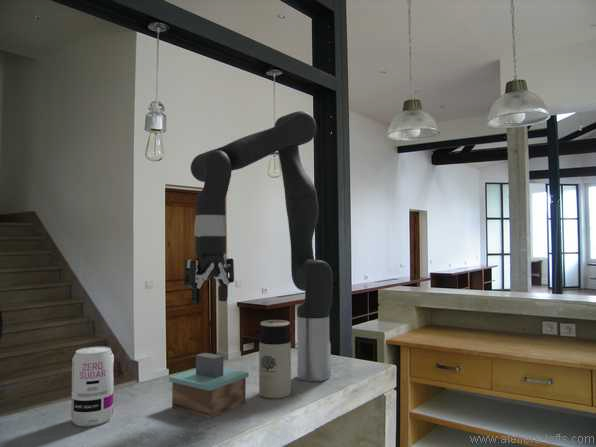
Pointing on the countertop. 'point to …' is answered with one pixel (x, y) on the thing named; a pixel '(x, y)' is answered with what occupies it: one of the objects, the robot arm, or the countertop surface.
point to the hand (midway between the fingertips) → (210, 302)
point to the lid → (208, 373)
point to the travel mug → (274, 359)
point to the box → (208, 398)
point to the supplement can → (92, 386)
